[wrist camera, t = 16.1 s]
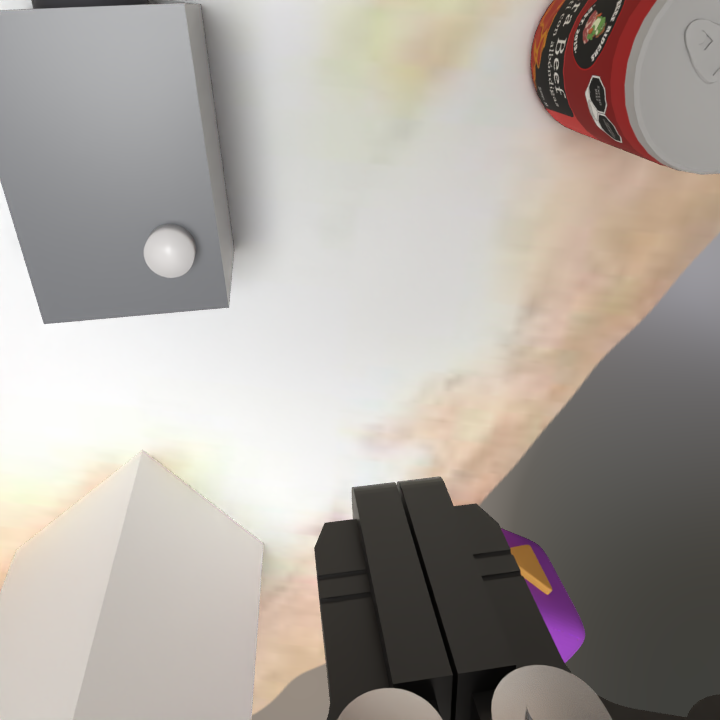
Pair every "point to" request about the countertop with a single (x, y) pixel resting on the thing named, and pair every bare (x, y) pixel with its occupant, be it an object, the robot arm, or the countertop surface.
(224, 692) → the milk
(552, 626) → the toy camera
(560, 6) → the canned food
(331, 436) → the countertop surface
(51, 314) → the camera body
